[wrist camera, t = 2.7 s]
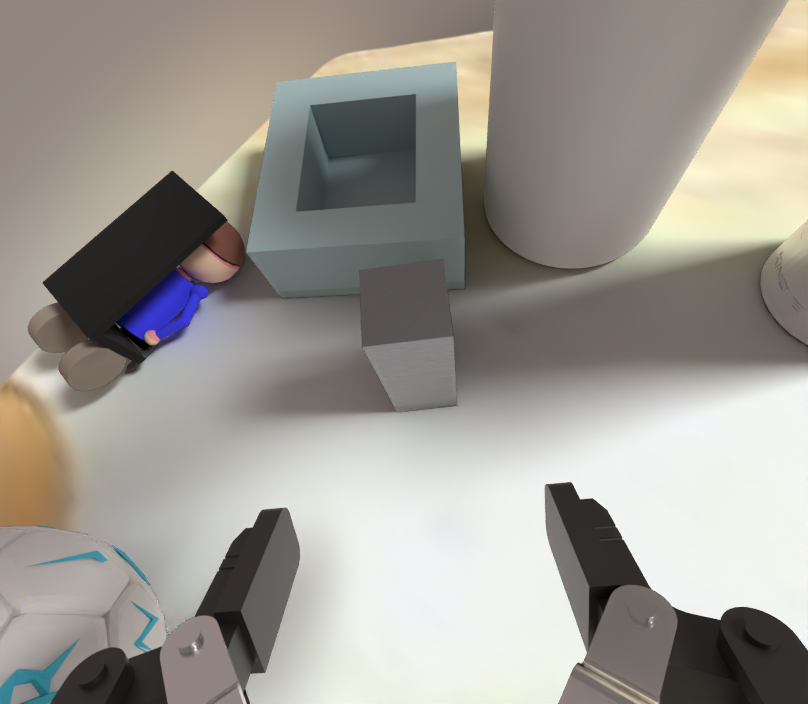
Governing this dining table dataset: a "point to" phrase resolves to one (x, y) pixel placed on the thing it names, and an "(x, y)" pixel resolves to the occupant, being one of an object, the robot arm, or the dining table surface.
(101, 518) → the dining table surface
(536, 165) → the cylinder vase
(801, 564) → the dining table surface
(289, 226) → the well block
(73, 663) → the puzzle ball
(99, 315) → the figurine character
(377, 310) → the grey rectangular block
